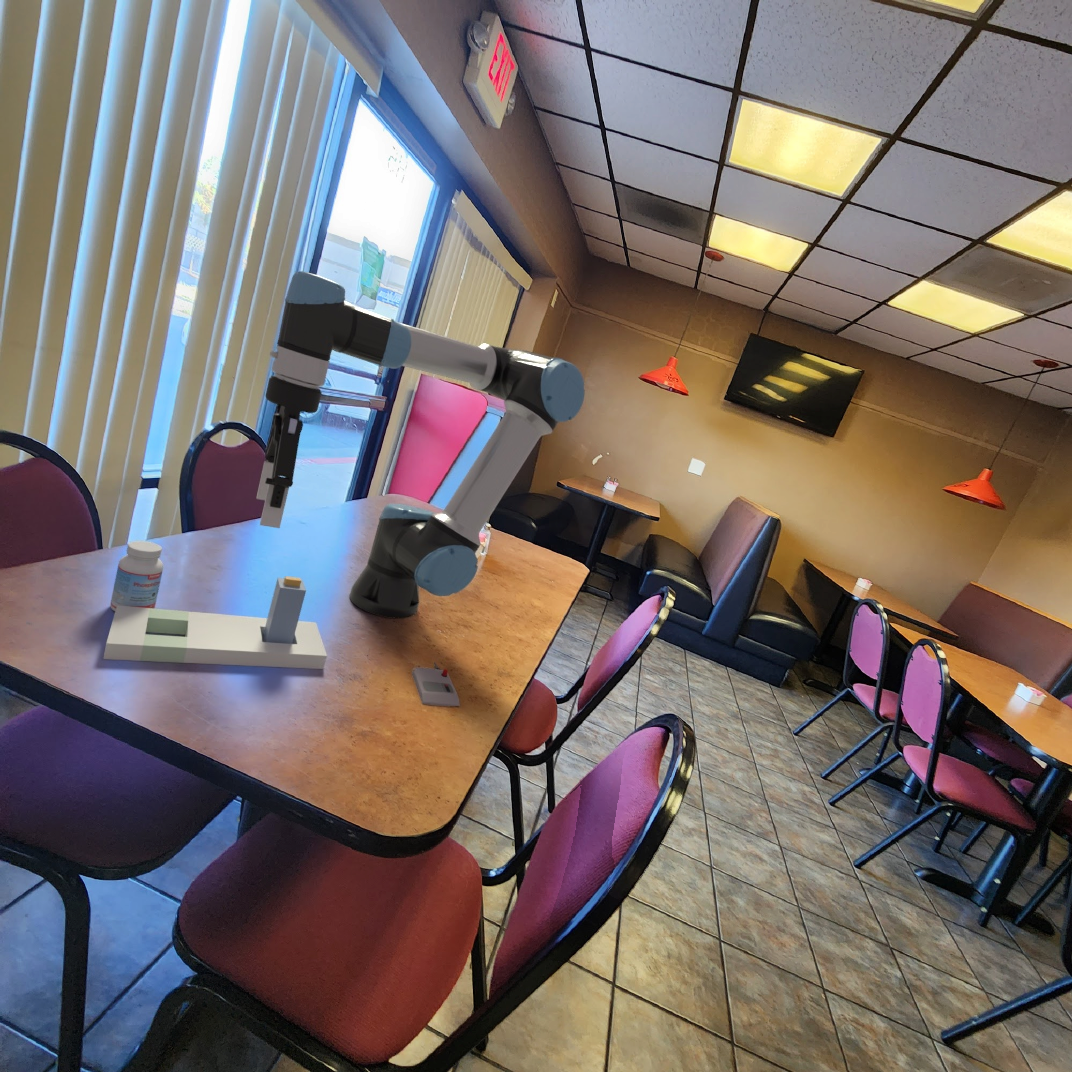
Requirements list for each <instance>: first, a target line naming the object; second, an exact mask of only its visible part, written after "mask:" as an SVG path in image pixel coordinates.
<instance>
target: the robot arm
mask: <svg viewBox="0 0 1072 1072" xmlns="http://www.w3.org/2000/svg"><path fill="white" fill-rule="evenodd" d="M287 290H288V291H287V294H286V297H285V299H284V302H285V303H284V307H283V313H282V319H281V322H280V323H281V324H280V328H279V335H278V339H277V342H276V344H277V345H276V347H275V348H276V350H271V351H270V353H269V356H270V357H271V358H274V359H273V360H272V361H273V362H272V367H271V371H272V372H273V373H274V375H271V376H269V378H268V383H267V387H266V392H265V399H266V400H267V401H269V402H270V403H272V404H273V405H276V408H275V409H276V412H275V413H273V416H272V422H271V427H270V434H269V438H268V442H267V445H266V448H265V449H264V452H265V455H264V459H265V460H264V461H263V466H262V469H261V470H262V471H261V475H260V479H259V485H258V489H257V493H256V500H260V501H264V505H263V508H262V513H261V516H260V520H259V526H263V527H269V528H276V529H280V528H281V524H282V520H283V515H284V512H285V511H284V510H285V507H286V502H287V499H288V495H289V490H290V488H291V487H292V486H293V485H294V481H293V480H294V475H295V473H294V472H295V467H296V462H297V456H298V450H299V444H300V443H299V442H300V436H301V433H302V430H303V427H304V421H303V420H300V417H301V413H302V412H305V413H307V414H315V413H316V412H318V410H319V406H320V400H321V398H322V391H321V389H320V387H323V386H324V385H325V382H326V377H327V373H328V370H329V365H330V360H331V355H332V351H334V352H337V353H340V354H344V355H347V356H350V357H353V358H355V359H359V360H362V361H365V362H368V363H371V364H374V365H378V367H385V368H389V369H396V370H397V369H400V367H405V368H409V369H413V370H418V371H421V372H425V373H429V374H433V375H437V376H441V377H445V378H449V379H452V380H456V381H460V382H465V383H469V385H470V386H471V388H473V389H474V390H477V391H480V392H484V393H487V394H490V395H492V396H494V397H496V398H498V399H500V400H503V401H504V402H503V404H504V408H505V410H504V411H505V414H504V415H503V417H502V418H501V420H500V421H499V423H498V424H497V426H496V428H495V429H494V431H493V432H492V433H491V435H490V437H489V439H488V440H487V441H486V443H485V445H484V447H482V450H481V452H480V453H479V454H478V456H477V457H476V459H475V461H474V462H473V463H472V466H471V467H470V469H469V470H468V471H467V473H466V475H465V476H464V478H463V479H462V481H461V483H460V484H459V485H458V488H457V489H456V491H455V492H454V493H453V495H452V496H451V498H450V500H449V501H448V503H446V506H445V507H444V509H443V510H442V511H440V512H436V513H435V512H434V511H431V510H429V509H426V508H421V507H418V506H412V505H408V504H402V503H388V504H386V505H385V506H384V507H383V508H382V511H381V515H380V517H378V525H377V527H376V532H375V535H374V539H373V542H372V546H371V549H370V553H369V558H368V561H367V564H366V565H365V567H364V569H363V570H362V572H361V573H360V574H359V576H358V577H357V578H356V580H355V581H354V583H353V585H352V586H351V590H350V593H349V600H350V602H352V603H353V605H355V606H356V607H357V608H359V609H361V610H363V611H365V612H368V613H370V614H373V615H375V616H378V617H384V618H389V619H408V618H411V617H413V615H414V616H415V615H416V614H417V612H418V608H419V606H420V590H419V589H420V588H421V589H424V590H425V591H427V592H428V593H429V594H431V595H433V596H436V597H437V596H438V597H448V596H451V595H453V594H458V593H459V592H462V591H463V590H464V589H466V588H467V587H468V586H469V584H471V582H472V581H473V580H474V578H475V577H476V574H477V572H478V567H479V566H478V562H479V561H478V557H477V555H476V553H477V551H478V549H479V548H480V546H481V544H482V543H481V539H480V532H481V531H482V530H483V528H484V526H485V525H486V524H487V522H488V520H489V518H490V517H491V516H492V514H493V513H494V511H495V510H496V508H497V506H498V504H499V503H500V501H501V500H502V498H503V496H504V495H505V493H506V492H507V491H508V488H509V487H510V485H512V482H513V480H515V477H516V476H517V474H518V473H519V471H520V470H521V468H522V466H523V465H524V463H525V462H526V461H527V458H528V457H529V455H530V454H531V452H532V450H533V449H534V448H535V447H536V445H537V442H538V441H539V439H540V438H541V437H542V436H546V435H551V434H552V433H553V431H554V430H555V428H556V427H557V425H558V423H563V422H564V423H565V422H568V421H571V420H573V419H574V418H575V417H576V416H577V414H578V413H579V412H580V410H581V408H582V406H583V404H584V399H585V393H586V392H585V391H586V390H585V381H584V377H583V374H582V372H581V371H580V369H579V368H578V366H576V365H575V364H574V363H572V362H569V361H566V360H564V359H563V358H561V357H553V356H548V355H545V354H540V353H536V352H532V351H530V350H529V351H528V350H524V349H523V350H522V349H517V348H505V347H499V346H495V345H491V344H488V343H481V344H479V345H478V346H477V345H475V344H472V343H467V342H463V341H460V340H458V339H454V338H451V337H447V336H444V335H441V334H438V333H434V332H431V331H428V330H425V329H422V328H418V327H414V326H412V325H408V324H404V323H401V322H398V321H396V320H394V318H389V317H387V316H384V315H382V314H378V313H375V312H373V311H369V310H367V309H364V308H362V307H359V306H356V305H353V304H352V303H350V302H348V301H346V289H345V287H344V286H343V285H341V284H339V283H337V282H335V281H333V280H331V279H329V278H328V279H327V278H325V277H323V276H321V275H318V274H314V273H310V272H307V271H303V270H300V271H295V273H294V274H293V275H292V277H291V281H290V282H289V286H288V289H287Z"/></svg>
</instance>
